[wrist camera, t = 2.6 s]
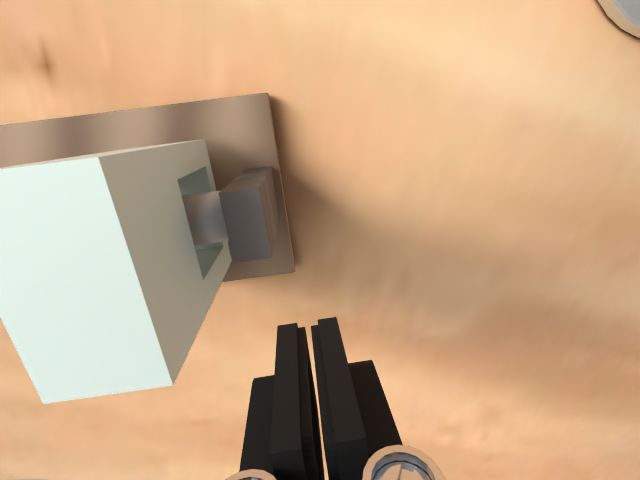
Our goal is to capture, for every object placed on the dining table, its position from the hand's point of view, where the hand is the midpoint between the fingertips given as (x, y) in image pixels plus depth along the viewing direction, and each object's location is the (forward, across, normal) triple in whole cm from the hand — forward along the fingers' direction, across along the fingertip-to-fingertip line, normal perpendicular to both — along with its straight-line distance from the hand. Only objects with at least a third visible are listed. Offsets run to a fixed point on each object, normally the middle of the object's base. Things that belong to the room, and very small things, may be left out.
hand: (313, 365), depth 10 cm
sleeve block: (+11, +6, -3) cm, 13 cm away
